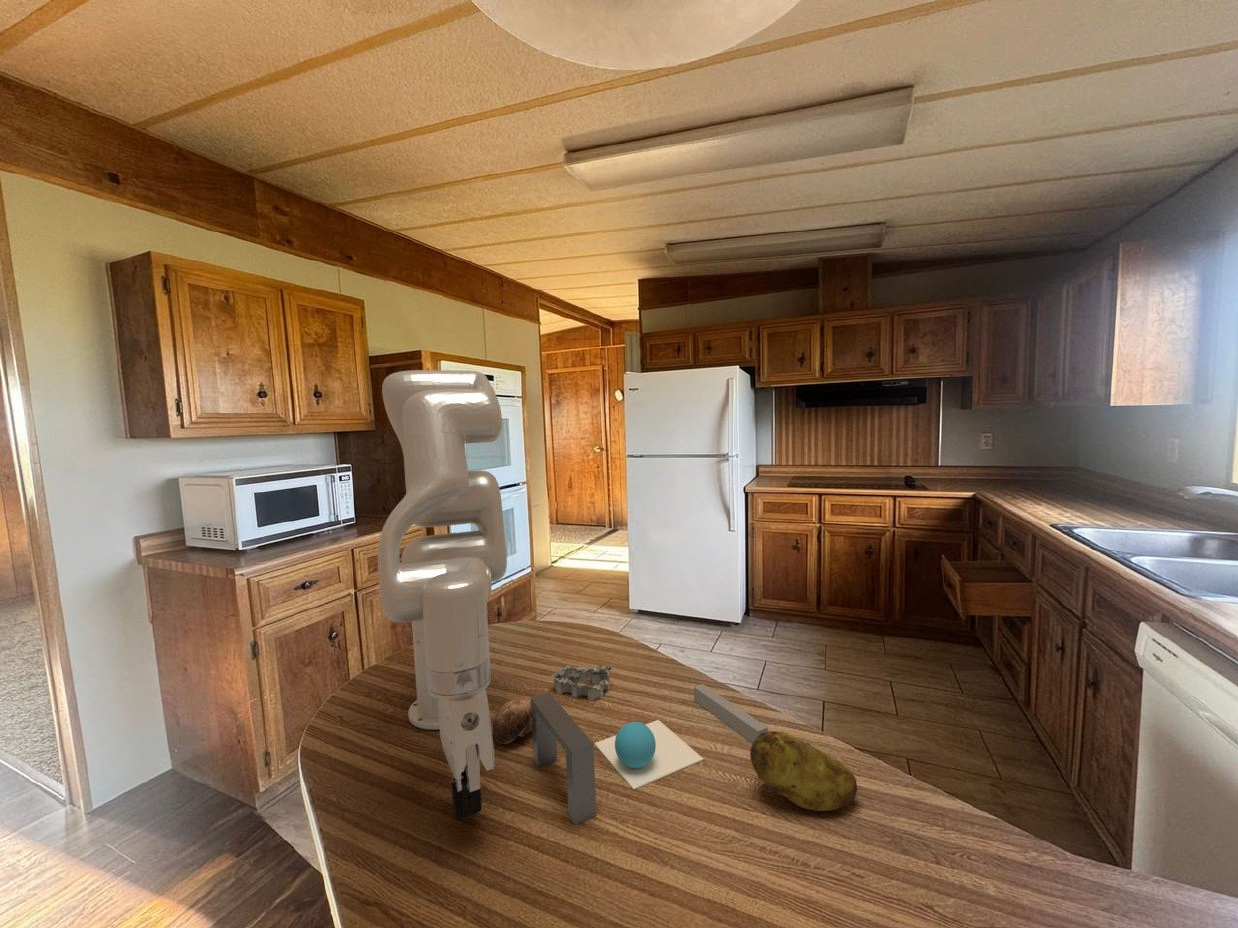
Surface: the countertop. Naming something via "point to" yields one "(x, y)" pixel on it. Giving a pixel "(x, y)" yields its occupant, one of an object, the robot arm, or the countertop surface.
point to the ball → (635, 745)
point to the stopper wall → (729, 713)
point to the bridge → (579, 749)
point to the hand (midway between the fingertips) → (467, 811)
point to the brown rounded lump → (512, 720)
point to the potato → (802, 772)
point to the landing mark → (664, 762)
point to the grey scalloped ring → (574, 677)
